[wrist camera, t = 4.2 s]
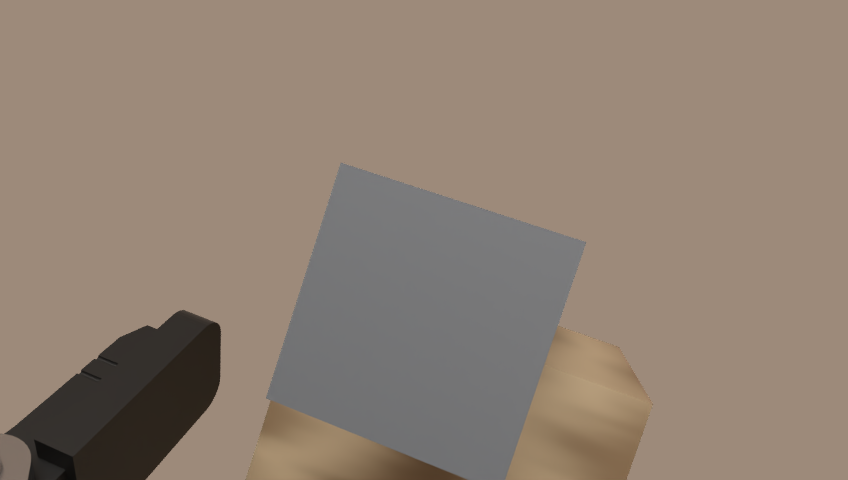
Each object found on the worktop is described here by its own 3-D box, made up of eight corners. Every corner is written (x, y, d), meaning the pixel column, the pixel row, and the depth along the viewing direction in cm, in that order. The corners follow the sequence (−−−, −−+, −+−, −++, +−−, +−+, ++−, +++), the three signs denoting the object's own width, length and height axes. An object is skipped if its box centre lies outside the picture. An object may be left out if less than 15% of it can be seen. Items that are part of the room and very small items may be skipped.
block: (266, 398, 11) (340, 162, 11) (477, 285, 40) (499, 222, 40) (500, 492, 10) (586, 242, 10) (542, 308, 40) (564, 243, 39)
